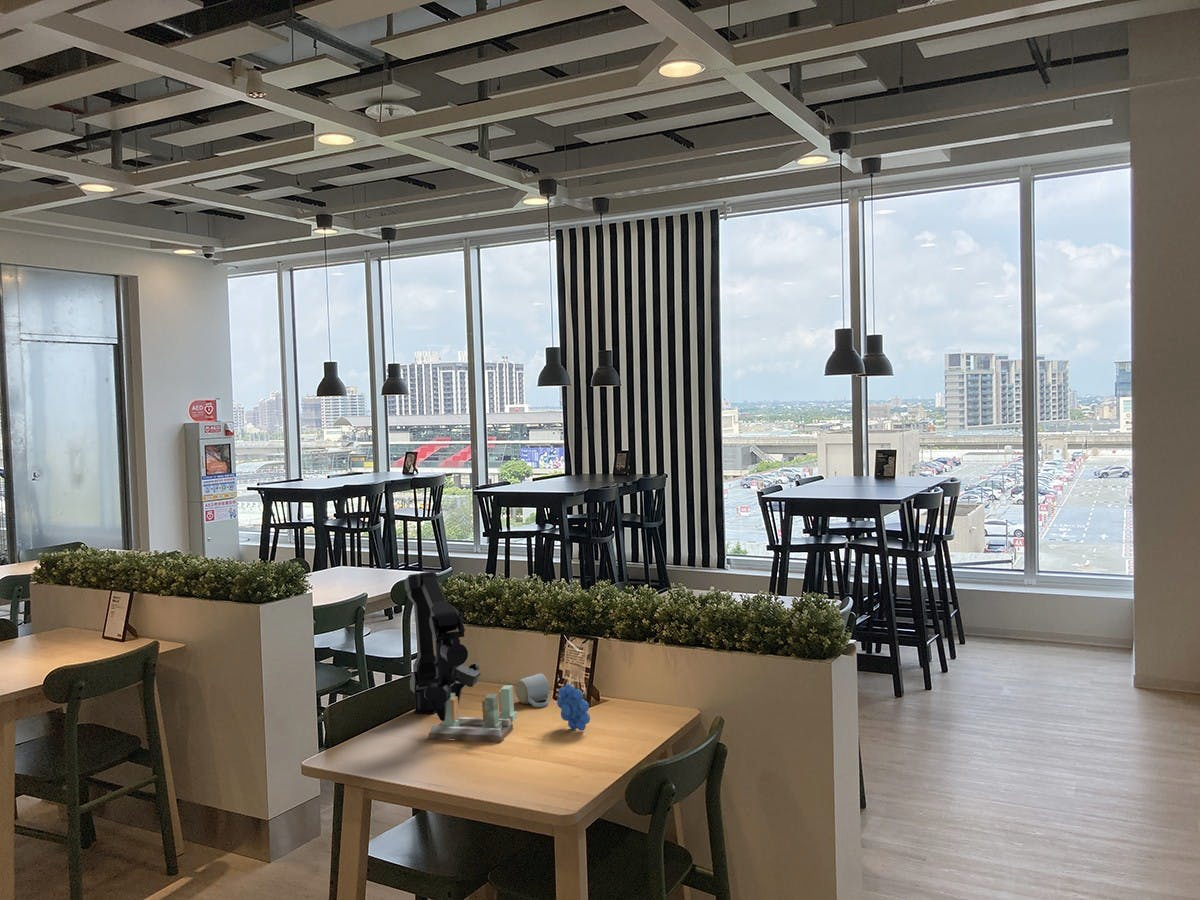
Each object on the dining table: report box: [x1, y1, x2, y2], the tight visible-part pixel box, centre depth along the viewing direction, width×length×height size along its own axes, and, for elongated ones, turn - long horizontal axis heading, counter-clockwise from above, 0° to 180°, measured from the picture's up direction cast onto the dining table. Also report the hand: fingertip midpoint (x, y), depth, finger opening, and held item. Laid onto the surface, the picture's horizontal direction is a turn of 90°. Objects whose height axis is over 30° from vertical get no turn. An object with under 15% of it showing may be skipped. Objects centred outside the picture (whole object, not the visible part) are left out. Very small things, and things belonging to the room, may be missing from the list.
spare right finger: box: [497, 684, 518, 722], centre depth 268 cm, size 4×4×9 cm
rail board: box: [428, 693, 514, 743], centre depth 257 cm, size 20×10×10 cm, turn 77°
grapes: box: [556, 683, 591, 732], centre depth 257 cm, size 12×7×12 cm, turn 46°
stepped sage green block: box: [439, 693, 460, 727], centre depth 258 cm, size 4×4×9 cm
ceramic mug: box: [514, 673, 551, 708], centre depth 282 cm, size 11×8×8 cm
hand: (449, 714), depth 258 cm, fingers open, 9 cm apart
